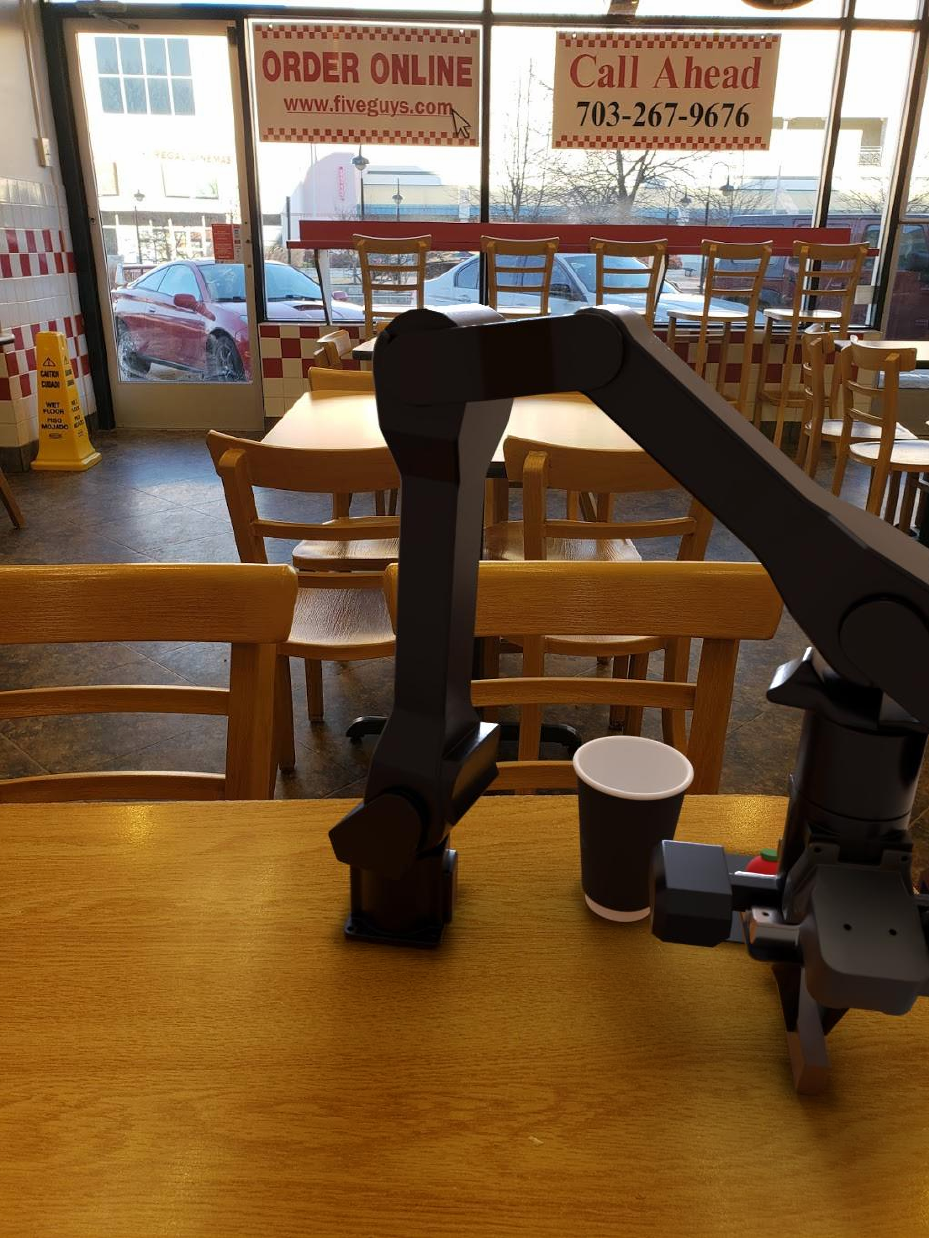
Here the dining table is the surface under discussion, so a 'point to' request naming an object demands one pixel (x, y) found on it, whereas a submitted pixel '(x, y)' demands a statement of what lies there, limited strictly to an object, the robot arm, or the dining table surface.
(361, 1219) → the dining table surface
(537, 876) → the dining table surface
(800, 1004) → the fork
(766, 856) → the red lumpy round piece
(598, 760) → the dixie cup
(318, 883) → the dining table surface
